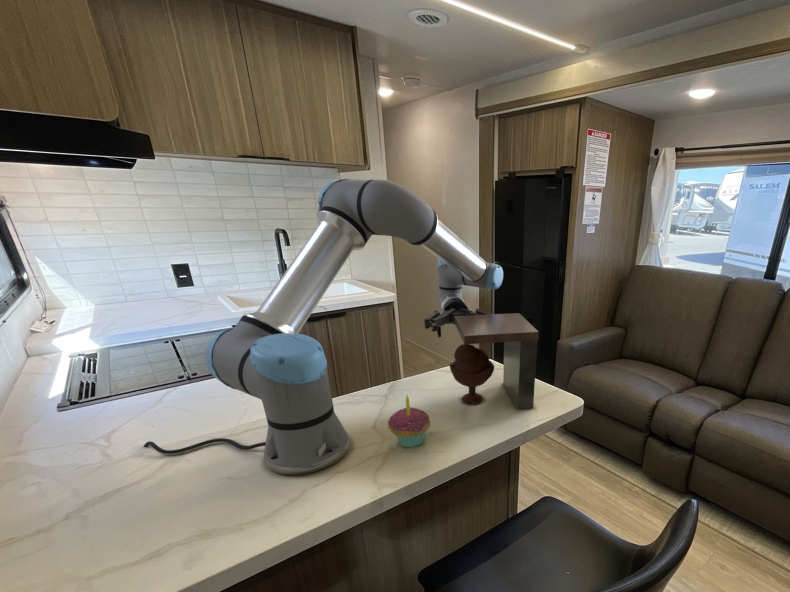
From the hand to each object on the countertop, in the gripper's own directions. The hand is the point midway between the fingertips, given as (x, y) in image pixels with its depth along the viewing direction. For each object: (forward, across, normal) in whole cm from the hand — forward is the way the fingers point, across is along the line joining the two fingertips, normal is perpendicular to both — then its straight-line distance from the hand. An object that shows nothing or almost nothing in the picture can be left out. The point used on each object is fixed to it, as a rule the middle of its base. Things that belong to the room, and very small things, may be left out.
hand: (465, 330), depth 105 cm
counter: (+10, -5, -15) cm, 19 cm away
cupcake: (+26, +16, -15) cm, 34 cm away
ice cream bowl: (+10, 0, -16) cm, 18 cm away
